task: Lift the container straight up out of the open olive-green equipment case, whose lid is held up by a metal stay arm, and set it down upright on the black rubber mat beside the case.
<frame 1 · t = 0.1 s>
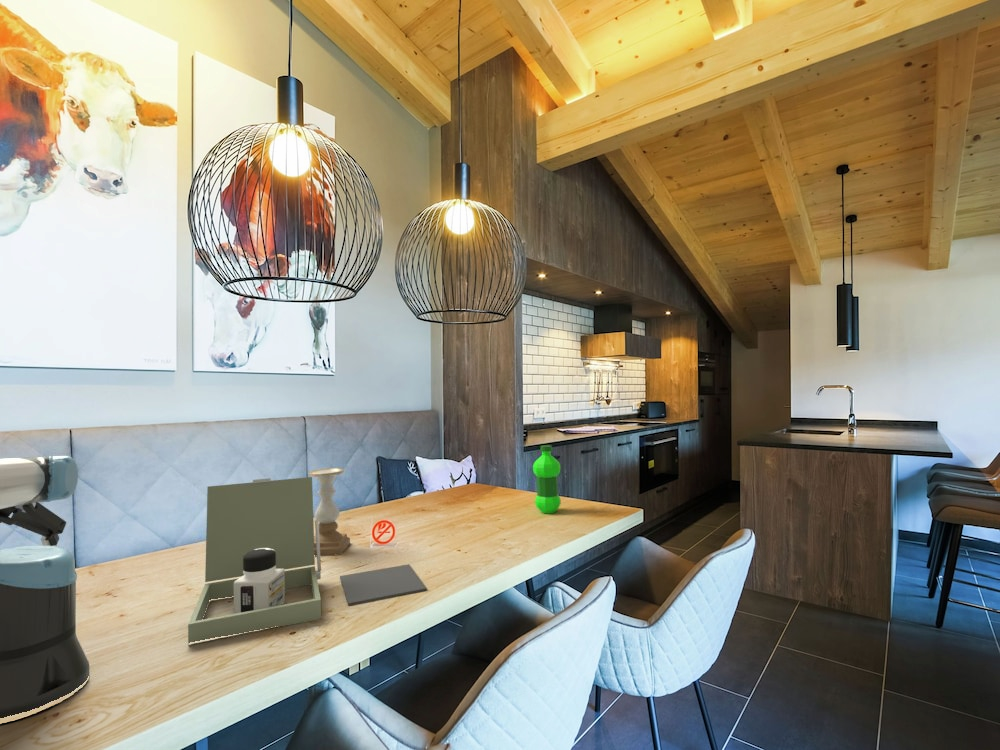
hand: (11, 559, 101), 15 cm above the table, tool tilted 35°, fingers open, 13 cm apart
candle holder: (327, 550, 150), on the table
container: (260, 610, 109), resting in case
lid: (262, 525, 123), point 15 cm above the table, hinge at 105.0°
case: (260, 609, 109), on the table
plastic bottle: (548, 512, 188), on the table
mat: (381, 583, 122), on the table
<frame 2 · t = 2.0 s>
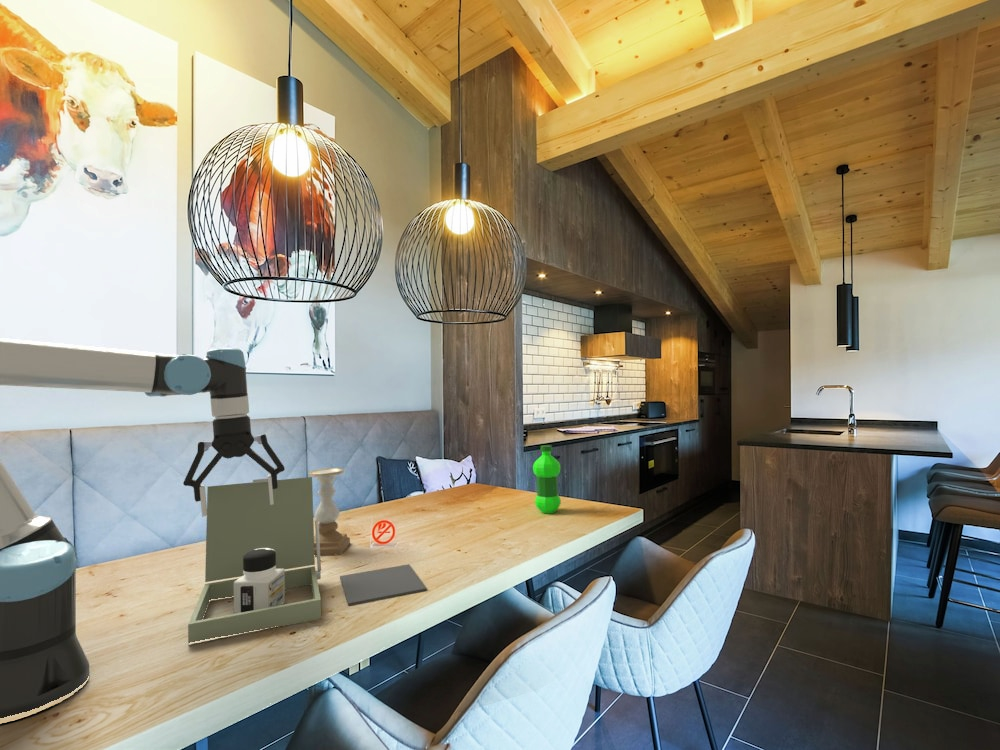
hand: (239, 509, 113), 22 cm above the table, tool pointing down, fingers open, 13 cm apart
nothing on the table moved.
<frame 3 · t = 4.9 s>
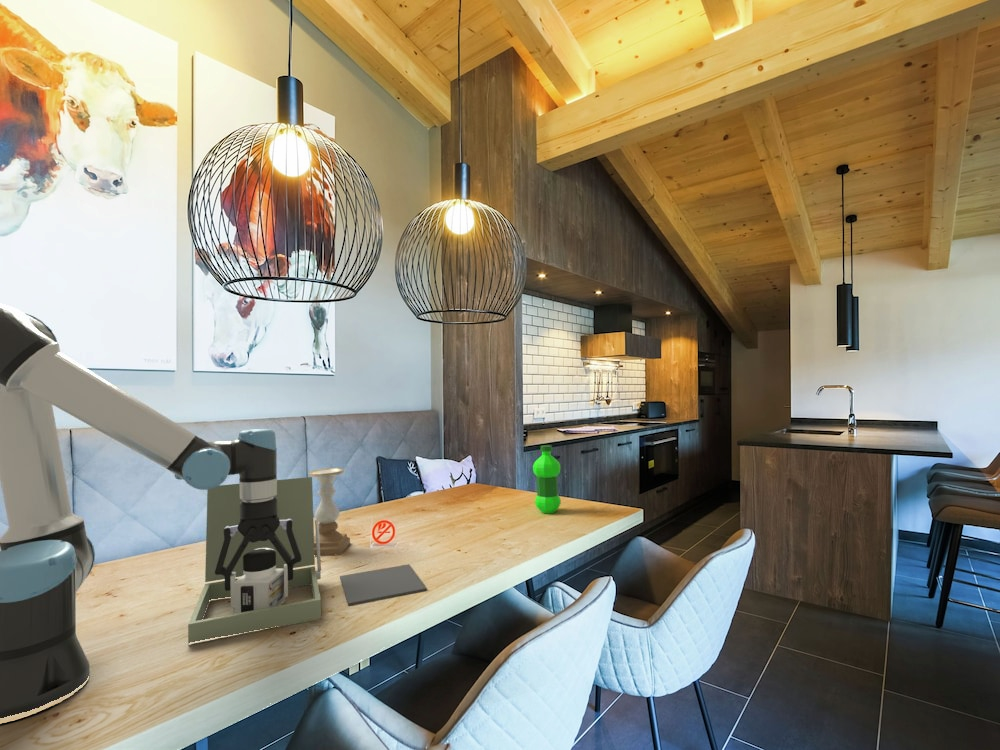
hand: (260, 599, 109), 2 cm above the table, tool pointing down, fingers closed on container, 10 cm apart
container: (260, 610, 109), resting in case, touching gripper
everything else where it was.
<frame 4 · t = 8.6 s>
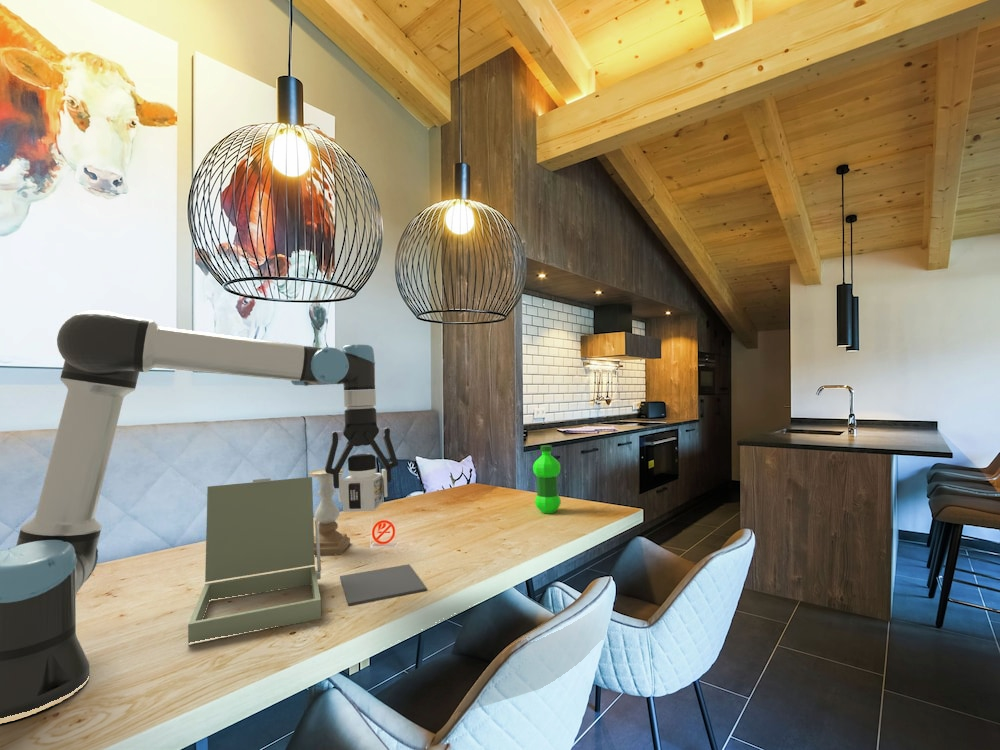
hand: (363, 498, 121), 22 cm above the table, tool pointing down, fingers closed on container, 10 cm apart
container: (363, 508, 121), point 19 cm above the table, touching gripper
everything else where it was.
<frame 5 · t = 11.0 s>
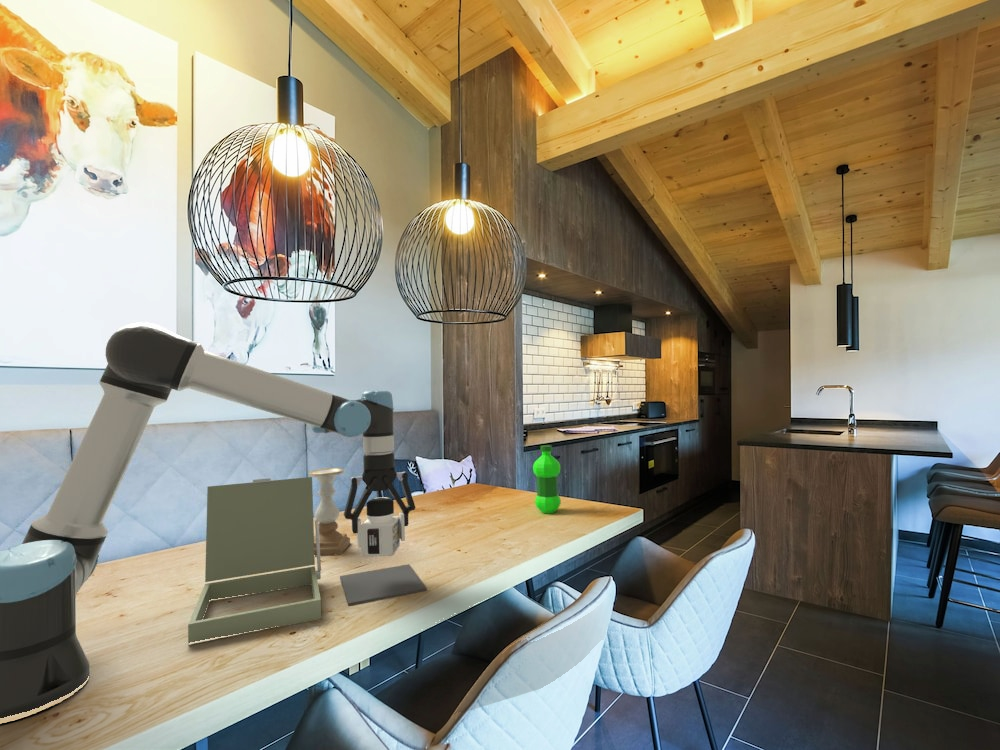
hand: (381, 542, 122), 10 cm above the table, tool pointing down, fingers closed on container, 10 cm apart
container: (381, 552, 122), point 8 cm above the table, touching gripper
everything else where it was.
when the fingers open (4 cm above the table, at t = 12.7 s): container drops 1 cm, resting on mat.
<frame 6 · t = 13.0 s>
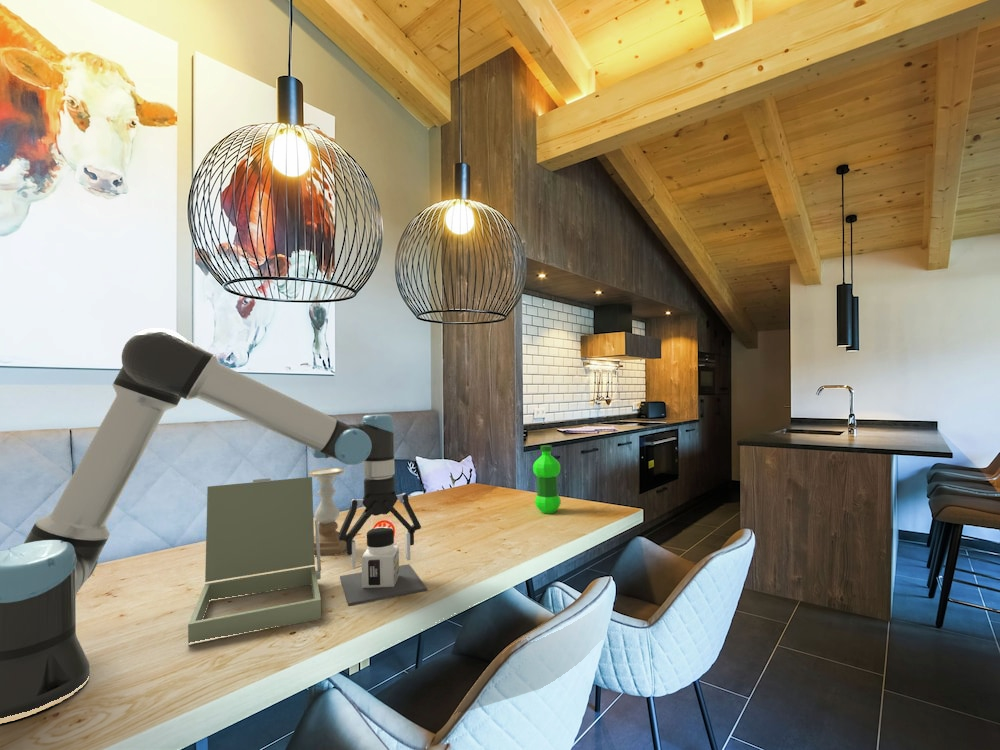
hand: (381, 563, 122), 5 cm above the table, tool pointing down, fingers open, 13 cm apart
container: (381, 582, 122), resting on mat
everything else where it was.
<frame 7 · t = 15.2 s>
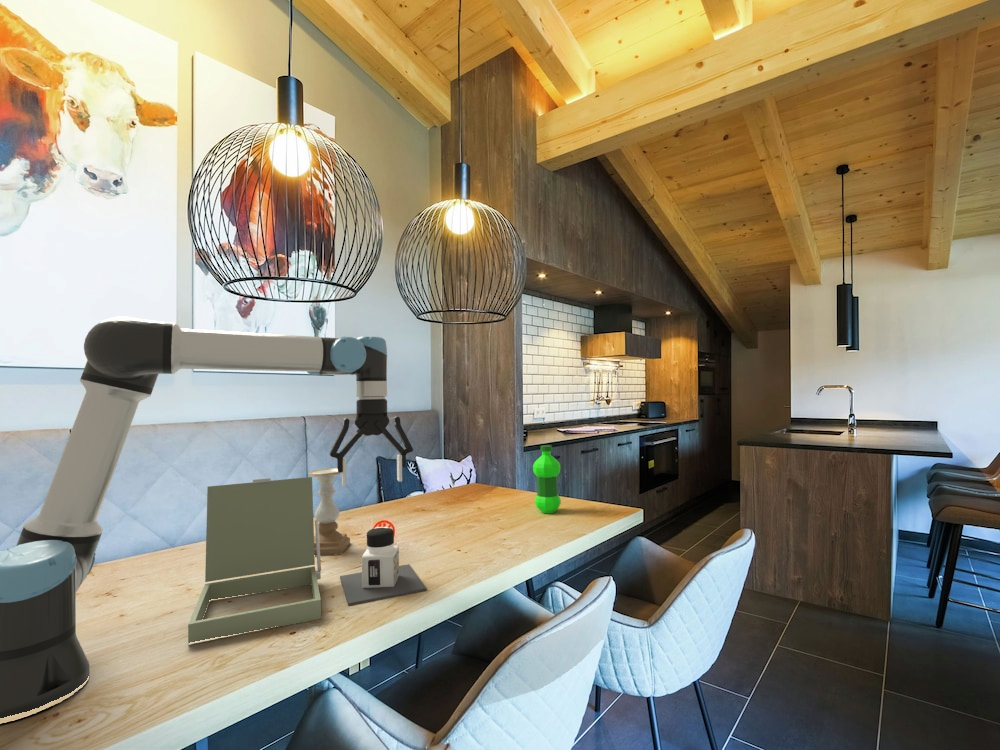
hand: (372, 483, 124), 25 cm above the table, tool pointing down, fingers open, 13 cm apart
nothing on the table moved.
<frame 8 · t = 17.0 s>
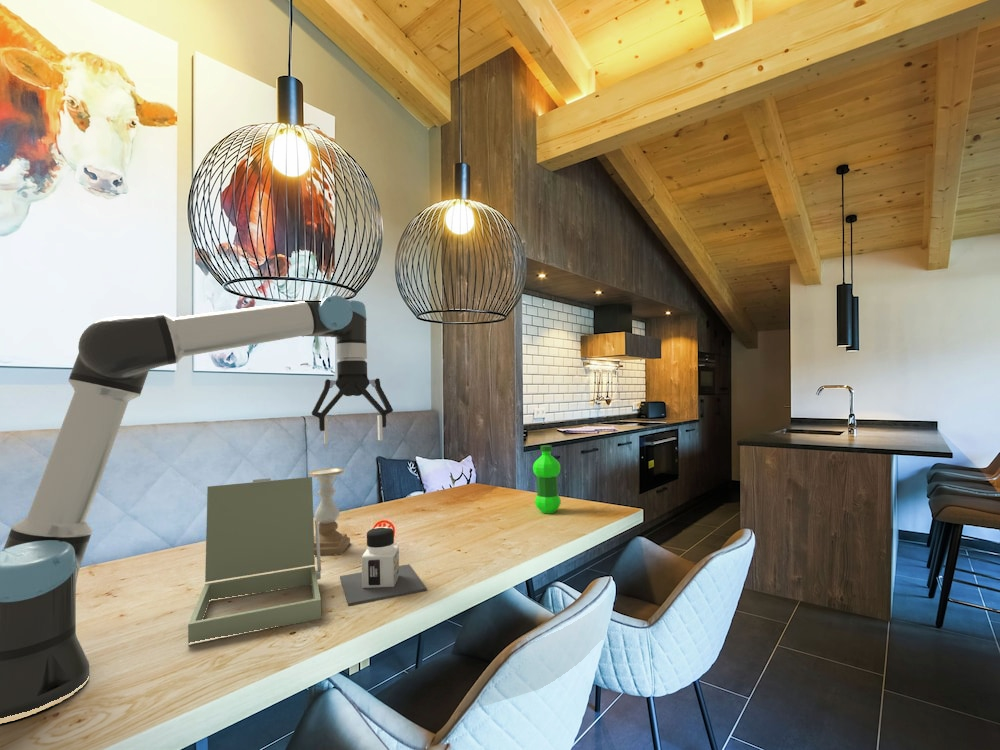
hand: (353, 442, 128), 35 cm above the table, tool pointing down, fingers open, 13 cm apart
nothing on the table moved.
at the end: container inside the target area on the mat (0.1 cm from its centre), point 0.3 cm above the mat's base; container tilted 0°; the gripper is holding nothing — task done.
